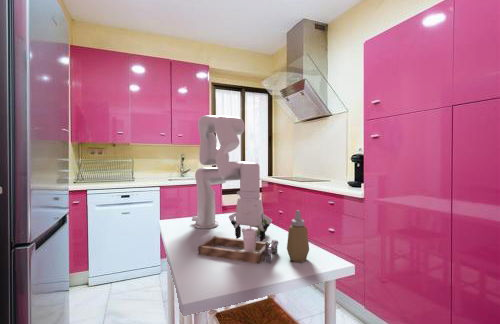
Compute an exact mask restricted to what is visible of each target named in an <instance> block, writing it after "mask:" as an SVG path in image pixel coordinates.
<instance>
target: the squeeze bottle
mask: <svg viewBox="0 0 500 324" xmlns="http://www.w3.org/2000/svg"><path fill="white" fill-rule="evenodd" d="M286 250H287V251H286V252H287V253H288V256H289V259H290V260H291V261H292V262H295V263H302V262H305V261H306V260H307V257H308V255H309V251H310V245H309V235H308V227H307V226H305V219H303V218H302V214H301V210H300V209H296V210H295V215H294V218H292V219H291V224H290V225H289V226H288V233H287V243H286Z"/></svg>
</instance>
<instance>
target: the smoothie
mask: <svg viewBox="0 0 500 324" xmlns="http://www.w3.org/2000/svg"><path fill="white" fill-rule="evenodd" d="M257 232H258V228H256V227H251V226H244V227H241V233H242V240H244V248H245V252H252V253H255V248H256V241H257V237H258V235H257Z"/></svg>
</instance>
